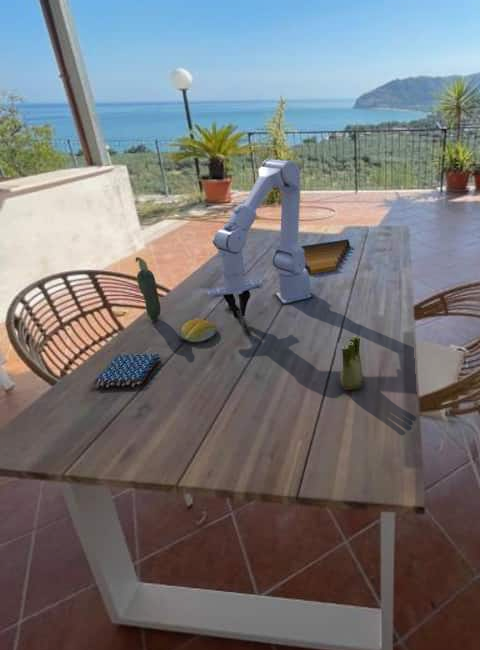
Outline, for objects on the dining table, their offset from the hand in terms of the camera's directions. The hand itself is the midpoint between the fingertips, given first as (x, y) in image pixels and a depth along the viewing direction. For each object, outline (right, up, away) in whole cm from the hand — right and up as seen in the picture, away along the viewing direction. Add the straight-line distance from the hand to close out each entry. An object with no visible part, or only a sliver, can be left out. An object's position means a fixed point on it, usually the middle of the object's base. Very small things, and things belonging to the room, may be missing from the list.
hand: (239, 315), depth 110 cm
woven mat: (-20, -11, -19) cm, 30 cm away
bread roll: (-9, -5, -4) cm, 11 cm away
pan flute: (+22, +16, +49) cm, 56 cm away
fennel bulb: (+33, -12, -23) cm, 42 cm away
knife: (0, -2, +1) cm, 2 cm away
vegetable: (-25, -2, +3) cm, 25 cm away
